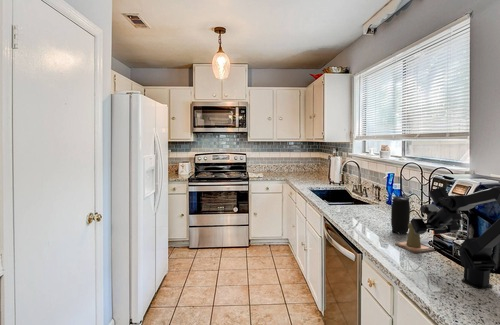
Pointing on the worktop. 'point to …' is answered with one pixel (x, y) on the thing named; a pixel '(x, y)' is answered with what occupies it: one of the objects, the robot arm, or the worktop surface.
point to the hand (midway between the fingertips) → (424, 234)
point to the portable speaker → (400, 214)
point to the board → (424, 248)
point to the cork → (413, 238)
